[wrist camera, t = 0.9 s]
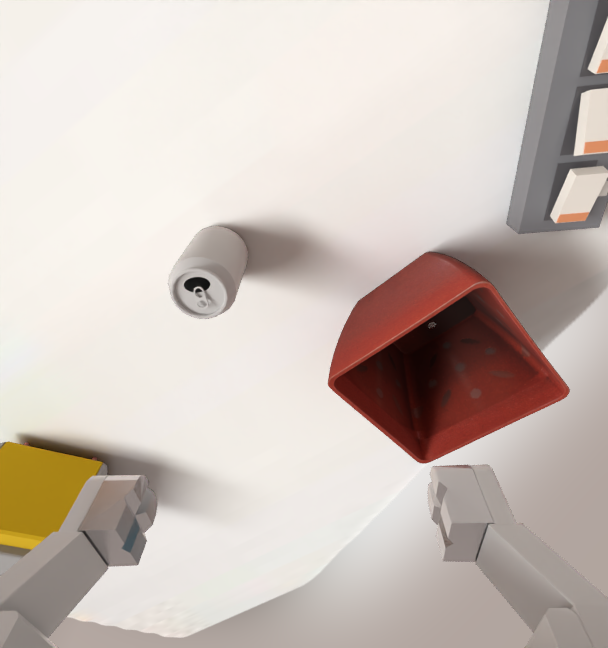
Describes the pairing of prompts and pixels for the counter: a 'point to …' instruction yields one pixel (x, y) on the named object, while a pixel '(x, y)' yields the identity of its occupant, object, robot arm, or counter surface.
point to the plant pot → (440, 360)
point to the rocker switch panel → (559, 118)
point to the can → (208, 273)
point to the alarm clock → (37, 495)
